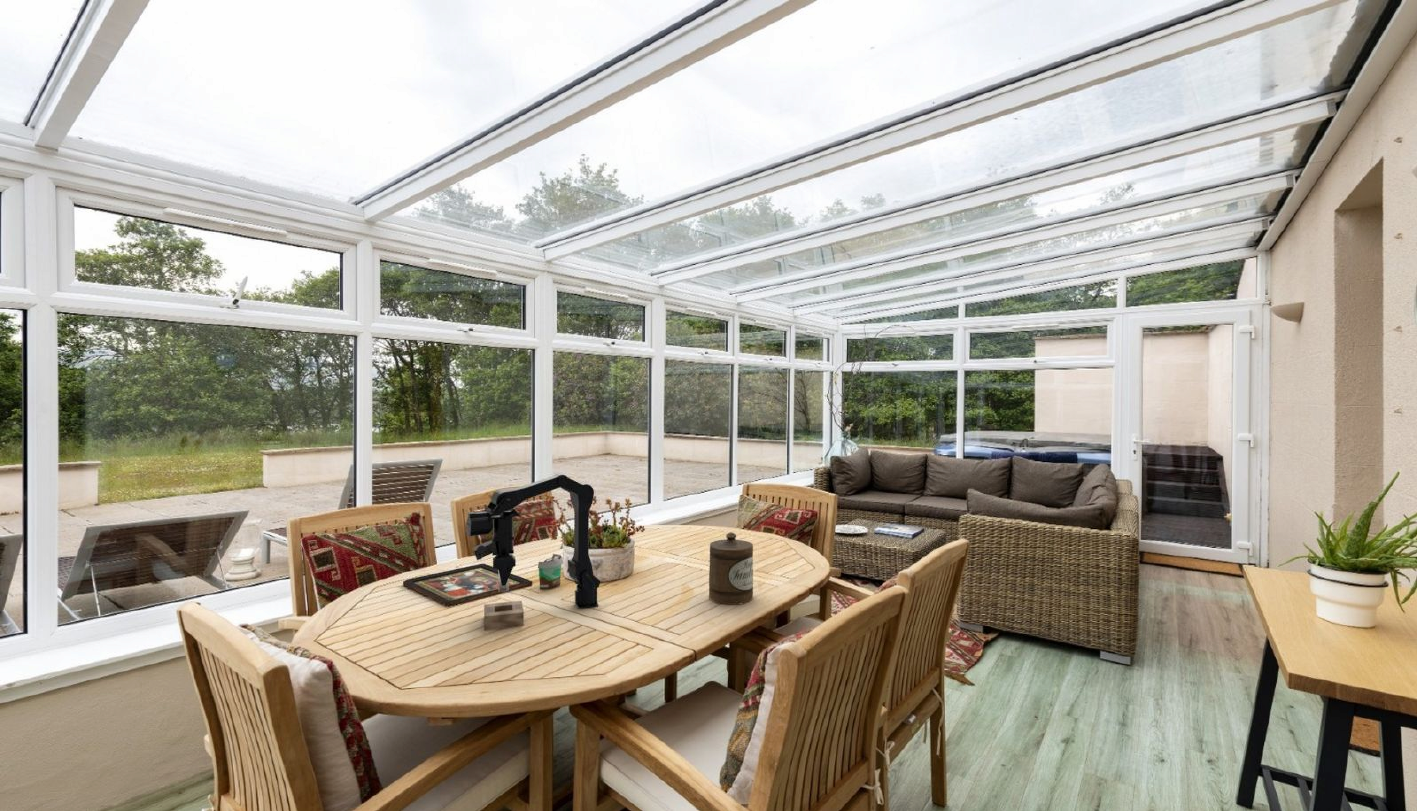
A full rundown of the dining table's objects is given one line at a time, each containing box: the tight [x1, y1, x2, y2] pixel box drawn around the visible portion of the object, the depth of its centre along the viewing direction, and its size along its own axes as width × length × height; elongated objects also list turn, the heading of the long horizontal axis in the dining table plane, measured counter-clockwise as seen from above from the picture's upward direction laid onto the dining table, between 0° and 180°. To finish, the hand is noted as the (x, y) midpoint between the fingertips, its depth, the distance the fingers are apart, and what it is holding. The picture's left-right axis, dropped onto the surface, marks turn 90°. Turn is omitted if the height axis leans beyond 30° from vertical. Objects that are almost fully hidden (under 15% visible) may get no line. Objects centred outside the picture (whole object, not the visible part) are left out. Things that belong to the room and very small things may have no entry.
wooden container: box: [708, 532, 754, 605], centre depth 211 cm, size 15×15×22 cm
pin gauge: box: [498, 570, 509, 593], centre depth 188 cm, size 3×3×8 cm
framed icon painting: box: [402, 563, 533, 608], centre depth 224 cm, size 38×35×3 cm
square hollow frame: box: [483, 600, 525, 631], centre depth 188 cm, size 11×11×4 cm
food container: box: [537, 553, 564, 591], centre depth 224 cm, size 12×6×10 cm, turn 168°
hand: (503, 583), depth 188 cm, fingers closed on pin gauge, 3 cm apart
